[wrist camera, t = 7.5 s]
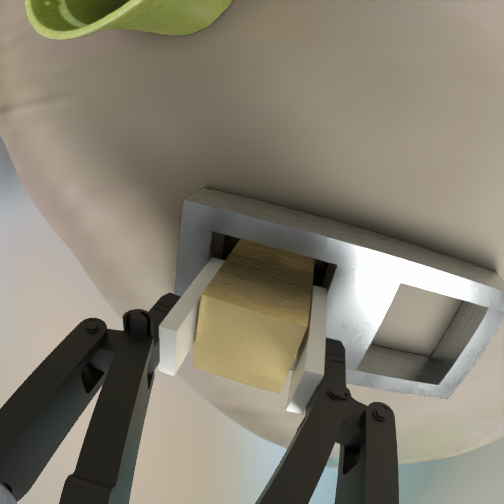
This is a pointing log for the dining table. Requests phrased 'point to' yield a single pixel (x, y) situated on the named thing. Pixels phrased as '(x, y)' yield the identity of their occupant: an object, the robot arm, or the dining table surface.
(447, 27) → the dining table surface
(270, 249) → the yellow rectangular block
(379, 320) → the grey double window frame
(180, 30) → the plant pot
